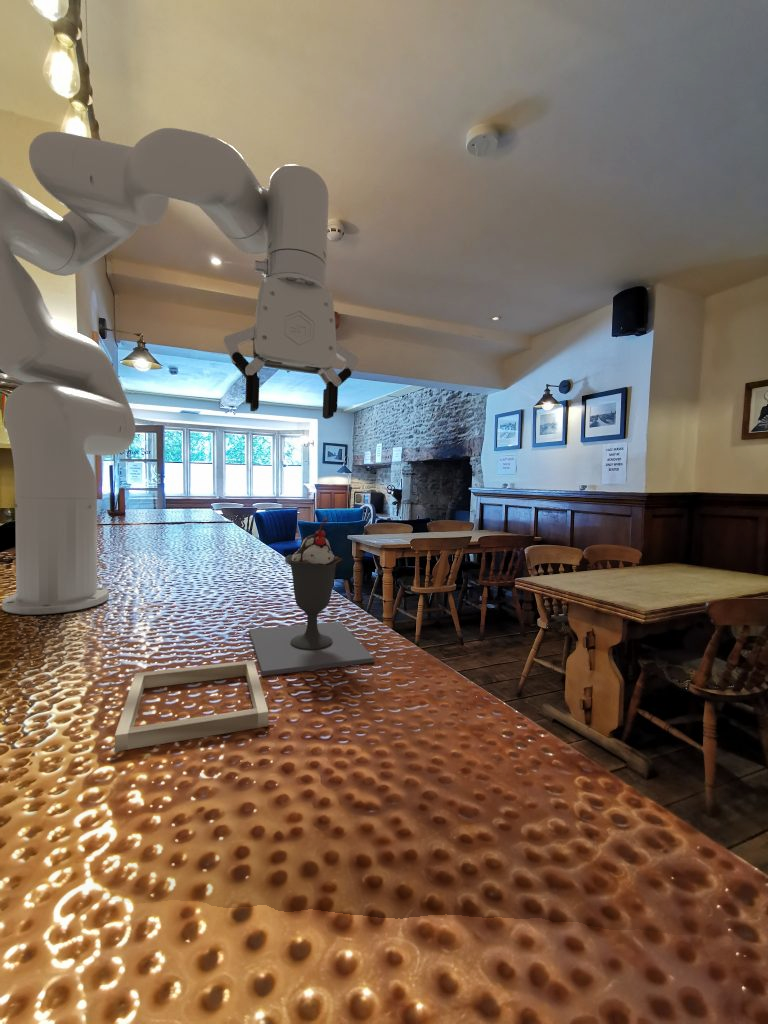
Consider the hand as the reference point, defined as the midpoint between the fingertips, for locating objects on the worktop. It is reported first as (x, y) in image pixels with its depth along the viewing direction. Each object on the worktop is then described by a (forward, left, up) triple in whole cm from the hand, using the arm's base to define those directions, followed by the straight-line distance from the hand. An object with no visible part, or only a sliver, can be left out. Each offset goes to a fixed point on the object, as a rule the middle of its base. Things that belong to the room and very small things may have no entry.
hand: (292, 413), depth 58 cm
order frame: (+19, -11, -28) cm, 36 cm away
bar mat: (+9, +1, -28) cm, 30 cm away
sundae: (+9, +2, -28) cm, 29 cm away
